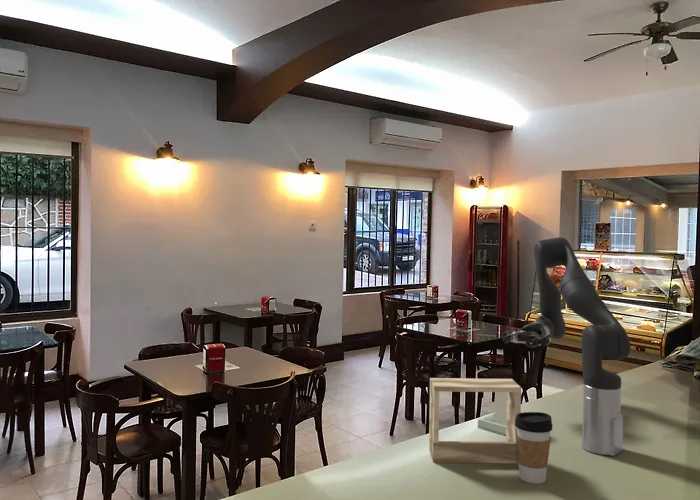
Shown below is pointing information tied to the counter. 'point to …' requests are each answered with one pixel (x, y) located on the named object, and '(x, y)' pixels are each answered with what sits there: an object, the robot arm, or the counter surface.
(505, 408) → the caddy
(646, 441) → the counter surface
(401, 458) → the counter surface
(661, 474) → the counter surface
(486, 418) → the tray
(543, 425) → the coffee cup
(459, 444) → the frame
